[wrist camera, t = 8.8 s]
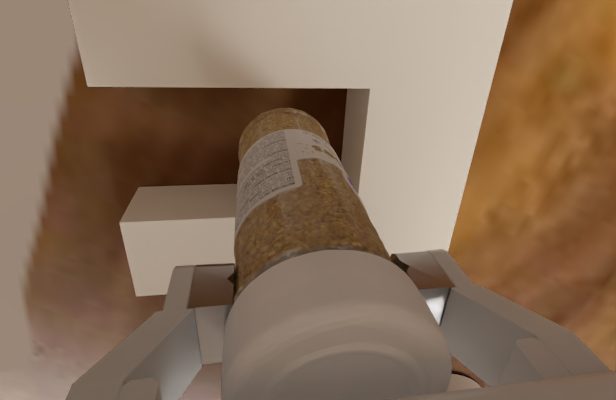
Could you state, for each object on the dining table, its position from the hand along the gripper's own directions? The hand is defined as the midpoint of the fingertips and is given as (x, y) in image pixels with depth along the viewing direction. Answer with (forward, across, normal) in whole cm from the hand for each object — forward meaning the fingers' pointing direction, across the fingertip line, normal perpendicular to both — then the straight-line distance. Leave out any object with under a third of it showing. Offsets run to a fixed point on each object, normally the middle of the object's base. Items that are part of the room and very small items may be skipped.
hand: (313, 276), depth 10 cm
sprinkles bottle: (+10, 0, 0) cm, 10 cm away
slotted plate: (+13, -1, 0) cm, 13 cm away
